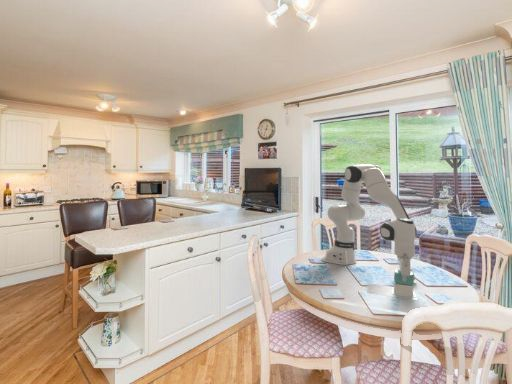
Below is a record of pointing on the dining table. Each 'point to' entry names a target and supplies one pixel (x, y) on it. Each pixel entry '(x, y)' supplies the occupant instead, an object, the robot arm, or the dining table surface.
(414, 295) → the white flat slab
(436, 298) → the dining table surface
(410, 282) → the teal brick
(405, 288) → the cream brick
